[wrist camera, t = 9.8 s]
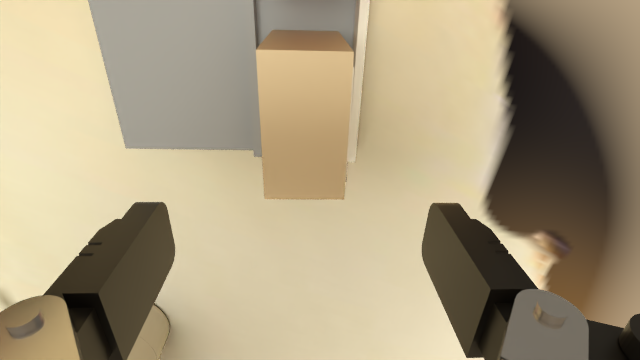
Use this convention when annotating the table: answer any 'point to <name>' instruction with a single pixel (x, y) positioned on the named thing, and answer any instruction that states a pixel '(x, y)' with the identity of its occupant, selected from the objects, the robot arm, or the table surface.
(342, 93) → the kraft carton
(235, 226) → the table surface
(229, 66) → the shelf board
